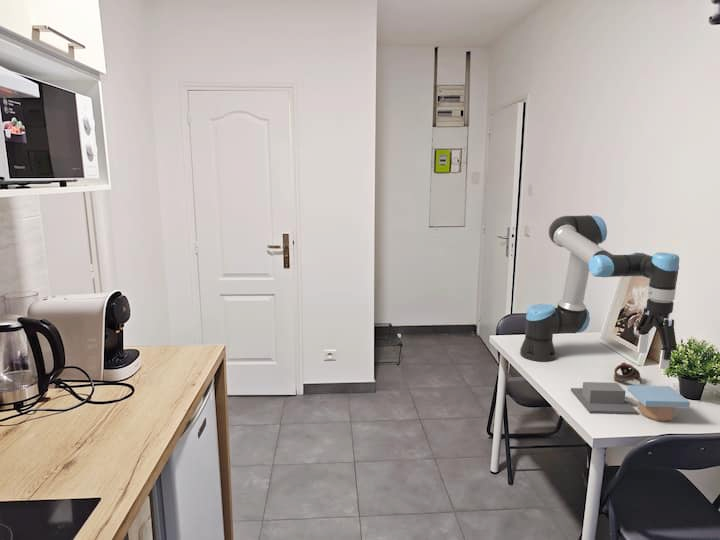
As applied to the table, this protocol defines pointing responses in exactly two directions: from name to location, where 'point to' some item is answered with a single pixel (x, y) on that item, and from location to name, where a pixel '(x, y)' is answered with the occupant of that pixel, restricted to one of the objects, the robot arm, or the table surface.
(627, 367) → the brown openwork dome
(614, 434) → the table surface
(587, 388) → the grey stepped plinth
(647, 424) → the table surface
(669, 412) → the brown octagonal bowl
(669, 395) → the cover sheet
